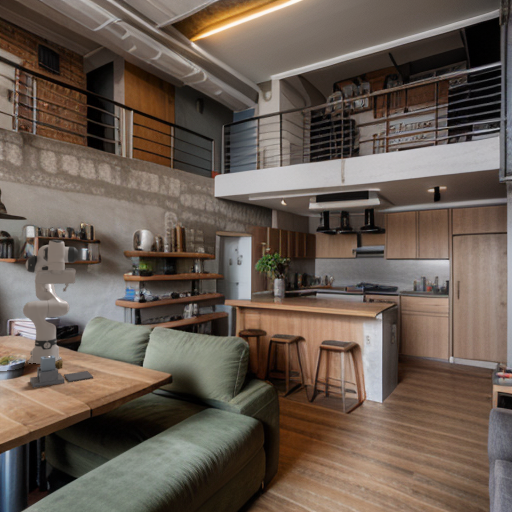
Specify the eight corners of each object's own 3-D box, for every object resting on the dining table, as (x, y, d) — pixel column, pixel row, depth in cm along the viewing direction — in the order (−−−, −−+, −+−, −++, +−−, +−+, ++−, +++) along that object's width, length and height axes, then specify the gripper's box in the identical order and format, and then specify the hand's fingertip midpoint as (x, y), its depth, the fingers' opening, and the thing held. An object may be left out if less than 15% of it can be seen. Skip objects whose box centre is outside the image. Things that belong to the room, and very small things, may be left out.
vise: (30, 381, 186) (31, 355, 186) (60, 376, 194) (60, 352, 195) (32, 388, 175) (33, 360, 176) (64, 382, 184) (65, 356, 185)
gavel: (62, 370, 196) (41, 373, 191) (61, 378, 196) (40, 381, 191) (62, 359, 214) (43, 361, 210) (62, 366, 214) (43, 368, 210)
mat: (63, 375, 196) (64, 374, 196) (87, 372, 203) (87, 370, 203) (68, 382, 185) (68, 380, 185) (93, 378, 192) (93, 376, 192)
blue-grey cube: (40, 368, 186) (40, 356, 186) (53, 366, 189) (53, 355, 190) (41, 371, 181) (42, 359, 181) (55, 369, 185) (55, 357, 185)
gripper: (74, 267, 212) (74, 290, 211) (34, 267, 199) (34, 291, 198) (77, 267, 207) (76, 291, 206) (36, 267, 194) (35, 292, 193)
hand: (55, 291), depth 202 cm, fingers open, 8 cm apart
